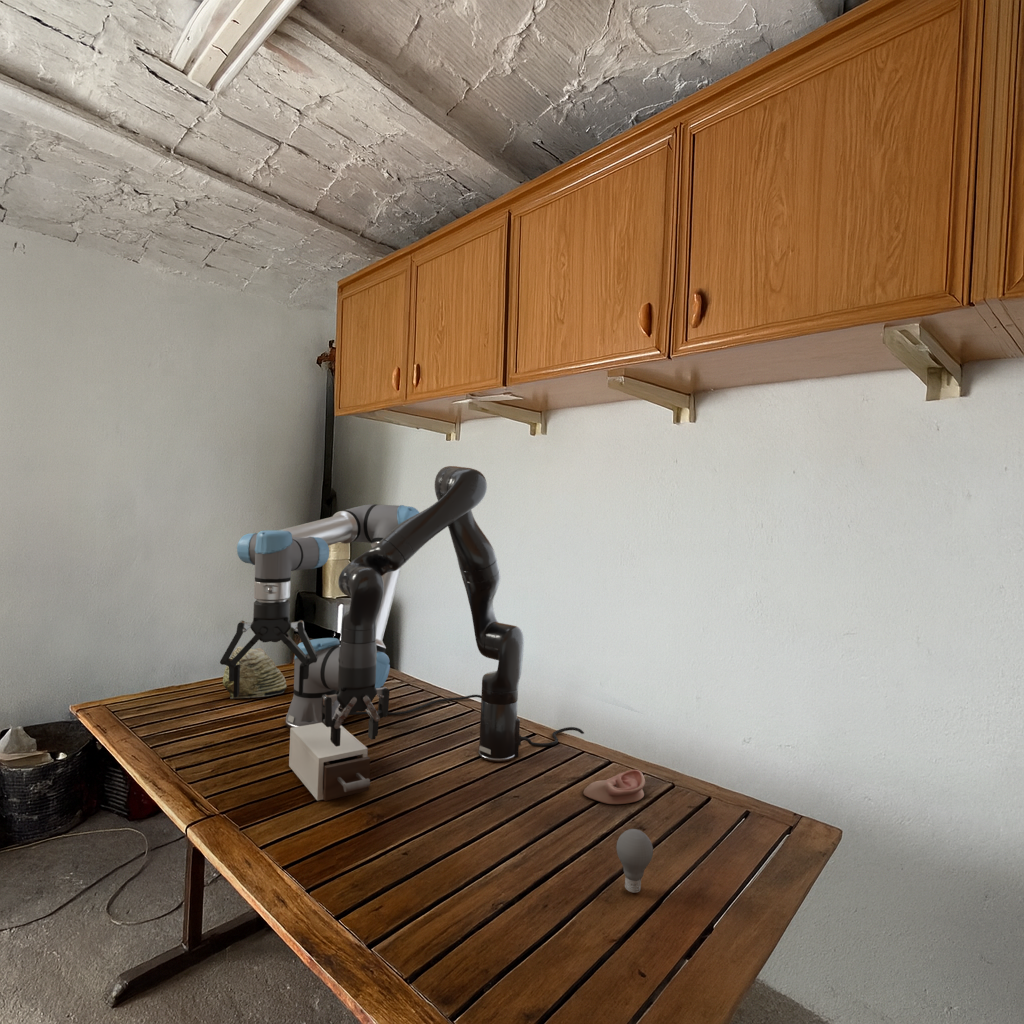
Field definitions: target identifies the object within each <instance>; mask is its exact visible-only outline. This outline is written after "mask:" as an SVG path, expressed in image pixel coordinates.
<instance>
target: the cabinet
mask: <svg viewBox="0 0 1024 1024" xmlns="http://www.w3.org/2000/svg"><path fill="white" fill-rule="evenodd" d="M340 728H341V736H340V746H337V747H336V746H335V745H334V744H333V743H332V742H331V740H330V738H331V727H326V726H325V725H324V724H323V723H316V724H311V725H305V726H299V727H293V728H290V729H289V757H288V766H289V768H290V769H291V770H292V772H293V773H294V774H295V775H296V777H297V778H298V779H299V780H300V782H301V783H302V784H303V785H304V787H305V788H306V789H307V790H308V791H309V793H310V794H311V795H312V796H313V798H314V799H315V800H316V801H317V802H318V801H324V799H323V769H324V762H328V761H333V760H337V759H342V758H347V757H352V756H357V755H360V756H361V758H364V757H368V753H369V752H368V749H369V748H368V747H367V746H366V745H365V744H363V742H362V741H360V740H359V739H358V738H356V737H355V735H353V734H352V733H350V731H348V730H347V729H346V728H345V727H344V726H343V725H341V726H340Z"/></svg>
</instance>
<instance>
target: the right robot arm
mask: <svg viewBox="0 0 1024 1024" xmlns="http://www.w3.org/2000/svg"><path fill="white" fill-rule="evenodd" d="M486 479H487V478H486V477H485V475H484V473H482V472H481V471H479V470H478V469H475V468H472V467H467V466H466V467H465V466H458V465H457V466H456V465H448V466H444V467H442V468H440V470H438V472H437V474H436V476H435V478H434V492H435V497H436V499H437V501H436V502H435V503H433V504H431V505H430V506H429V507H427V508H425V509H424V510H422V511H419V513H418V514H416V515H415V516H413V517H411V518H409V519H407V520H405V521H404V522H402V523H401V524H399V525H398V526H397V527H395V528H394V529H393V530H392V531H391V532H390V533H389V534H387V535H386V536H385V537H384V538H383V539H382V540H381V541H380V542H379V543H378V544H377V545H376V546H375V547H373V548H372V547H371V548H370V549H368V550H366V551H365V552H364V553H362V554H360V555H359V556H357V557H356V558H354V559H353V560H352V561H350V562H349V563H347V564H346V566H345V567H344V568H343V569H342V570H341V572H340V573H339V576H338V581H337V584H338V588H339V590H340V592H341V593H342V594H343V595H345V596H346V597H349V598H350V604H349V609H348V611H347V612H345V613H344V614H343V616H342V619H341V628H340V629H341V631H340V632H341V633H340V644H339V646H340V650H339V658H338V662H339V671H338V690H337V692H336V694H334V695H326V694H324V695H323V696H322V723H323V724H324V725H325V726H326V727H331V738H330V740H331V742H332V743H333V744H334V745H335V746H336V747H337V746H340V736H341V728H340V726H342V724H343V722H344V720H346V719H347V717H348V716H349V715H348V714H349V713H355V712H367V713H368V714H367V715H368V716H369V719H368V728H367V729H368V731H367V732H368V733H367V736H368V739H370V740H371V741H373V740H376V737H377V736H378V734H379V721H380V720H381V719H383V718H387V717H388V716H389V715H388V712H389V707H390V705H389V704H390V689H389V688H388V687H386V686H384V685H383V686H381V687H380V688H375V682H376V658H377V648H376V628H377V623H376V620H377V617H378V614H379V610H380V606H381V602H382V598H383V593H384V582H383V578H382V576H383V575H384V574H386V573H388V572H392V571H396V570H398V569H399V568H400V567H401V568H402V567H403V566H404V565H405V564H406V563H407V562H408V561H410V559H411V558H412V557H413V556H414V555H415V554H416V553H417V552H418V551H420V549H421V548H423V547H424V546H425V545H426V544H427V543H428V542H429V541H431V540H432V539H433V538H435V536H437V535H438V534H440V532H442V531H444V530H445V529H446V528H448V531H449V535H450V538H451V542H452V545H453V549H454V552H455V556H456V560H457V564H458V568H459V572H460V575H461V579H462V582H463V585H464V589H465V591H466V597H467V601H468V605H469V608H470V613H471V619H472V624H473V631H474V637H475V642H476V646H477V649H478V652H479V653H480V654H481V655H482V656H483V657H484V658H487V659H491V660H495V661H498V664H497V669H496V670H493V671H489V672H487V673H484V674H483V676H482V678H481V694H480V695H481V698H480V718H479V719H480V722H479V744H478V756H479V758H481V759H482V760H485V761H488V762H491V763H505V762H509V761H511V760H513V759H516V758H519V755H520V753H519V752H520V751H519V750H520V746H521V745H522V743H521V742H522V741H524V742H527V743H528V745H530V746H533V747H540V748H541V747H546V748H547V747H553V746H555V745H557V744H558V743H559V738H558V737H557V736H556V735H558V734H560V733H564V732H568V731H575V732H578V733H579V734H581V735H584V734H585V732H584V730H582V729H581V728H579V727H576V726H567V727H563V728H560V729H557V730H555V731H553V732H552V736H551V737H552V738H553V739H554V741H551V742H534V741H532V740H531V739H530V738H529V737H526V736H522V734H520V729H521V728H520V727H521V719H520V718H519V717H518V705H519V704H518V703H519V684H520V683H519V682H520V680H521V677H522V671H523V660H524V651H525V637H524V632H523V631H522V629H521V628H520V627H519V626H517V625H513V624H508V623H504V622H499V621H498V620H497V616H496V613H495V610H494V609H495V608H494V600H495V596H496V594H497V591H498V589H499V586H500V582H501V571H500V566H499V562H498V558H497V554H496V552H495V549H494V547H493V545H492V544H491V542H490V540H489V539H488V538H487V536H486V535H485V533H484V532H483V530H482V529H481V527H480V526H479V524H478V522H477V521H476V519H475V516H474V514H473V511H472V510H473V509H475V508H476V507H477V506H478V505H480V503H481V502H482V501H483V500H484V499H485V497H486V494H487V490H488V489H487V488H488V483H487V480H486ZM376 696H377V698H378V706H377V709H376V707H375V706H374V704H373V703H372V702H373V701H374V699H375V698H376ZM336 700H337V701H338V702H339V705H338V707H337V709H336V711H335V715H334V716H333V718H332V706H333V705H334V702H335V701H336Z"/></svg>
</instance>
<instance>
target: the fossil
mask: <svg viewBox="0 0 1024 1024" xmlns="http://www.w3.org/2000/svg"><path fill="white" fill-rule="evenodd" d="M243 647H244V646H238V647H237V648H235V649H234V650H233V652H232V654H231V655H230V657H229V658H230V659H233V658H234V657H235V656H236V655H237V654H238V653H239V652H240V651H241V650H242V649H243ZM236 665H240V685H239V695H238V697H233V693H234V681H229V667H228V666H227V665H225V668H224V671H223V675H222V676H223V677H222V685H223V687H224V688H225V690H226V691H228V693H229V698H230V699H250V698H264V697H271V696H275V695H281V694H284V693H285V691H286V689H287V687H288V686H287V680H286V678H285V676H284V674H283V673H282V672H281V669H279V668H278V667H277V665H276V663H275V662H274V660H273V659H272V658H271V657H270V656H269V655H268V654H267V653H266V652H265V650H264V649H263V648H260V647H258V648H251V649H250V650H249V651H248V652H247V653H246V654H245V655H244V656H243V657H242V658H241V659H240V661H239V662H238V663H237V664H236Z"/></svg>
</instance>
